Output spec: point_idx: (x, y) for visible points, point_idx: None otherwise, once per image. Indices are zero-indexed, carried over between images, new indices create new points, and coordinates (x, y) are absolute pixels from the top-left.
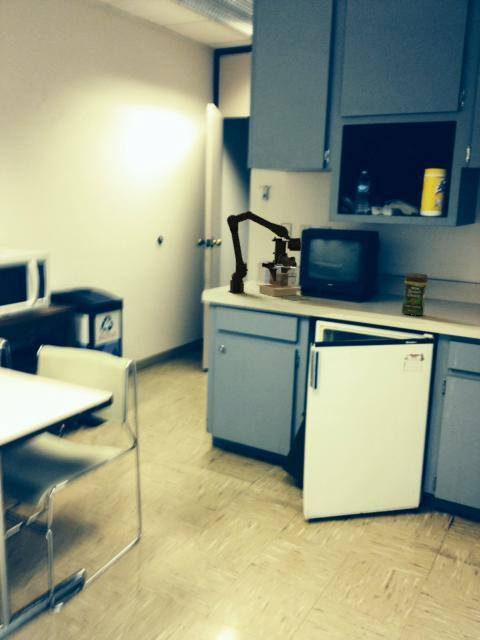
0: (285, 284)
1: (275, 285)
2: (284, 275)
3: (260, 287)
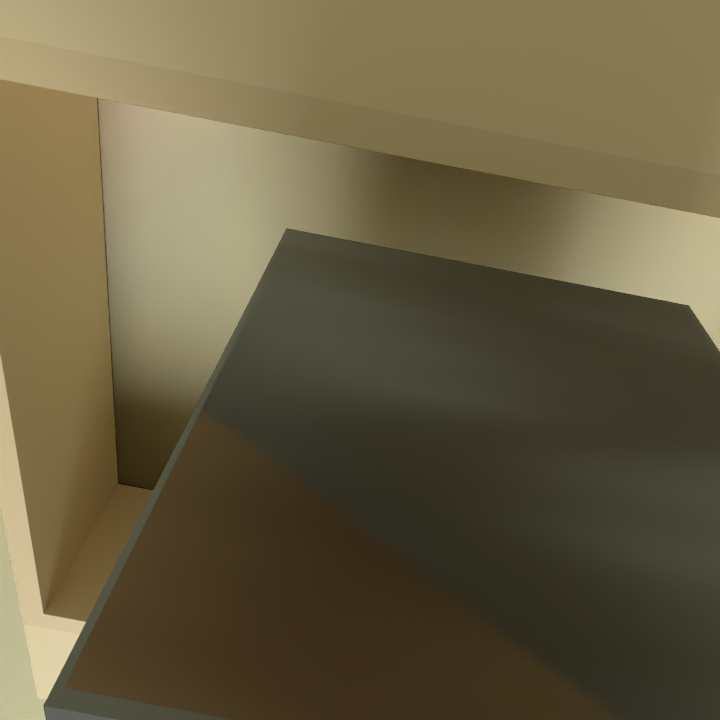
0: (413, 277)
1: None
2: (547, 676)
3: None
